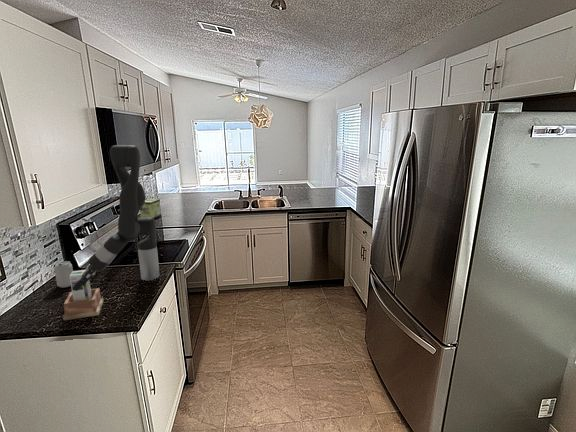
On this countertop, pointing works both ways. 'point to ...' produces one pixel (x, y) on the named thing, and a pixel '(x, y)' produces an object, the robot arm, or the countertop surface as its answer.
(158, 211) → the protein box
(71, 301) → the wooden tray
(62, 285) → the can
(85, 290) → the syrup box
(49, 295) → the countertop surface
